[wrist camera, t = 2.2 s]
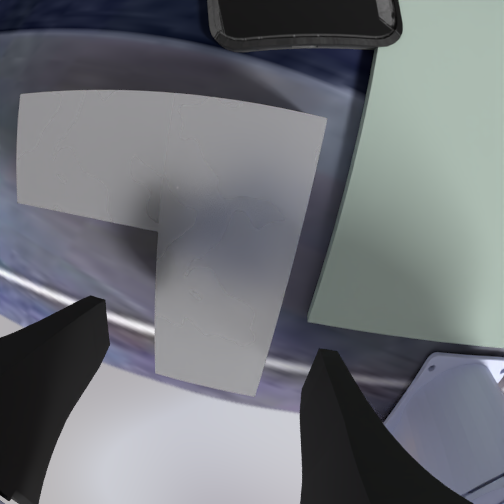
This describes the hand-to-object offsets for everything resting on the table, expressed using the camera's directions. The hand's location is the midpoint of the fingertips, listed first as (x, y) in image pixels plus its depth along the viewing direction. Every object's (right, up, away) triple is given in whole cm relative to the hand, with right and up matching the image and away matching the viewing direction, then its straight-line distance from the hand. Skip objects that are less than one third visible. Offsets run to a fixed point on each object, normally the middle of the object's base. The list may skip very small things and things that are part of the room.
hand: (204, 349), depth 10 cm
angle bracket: (-2, +5, +4) cm, 7 cm away
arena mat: (+14, +7, +1) cm, 16 cm away
